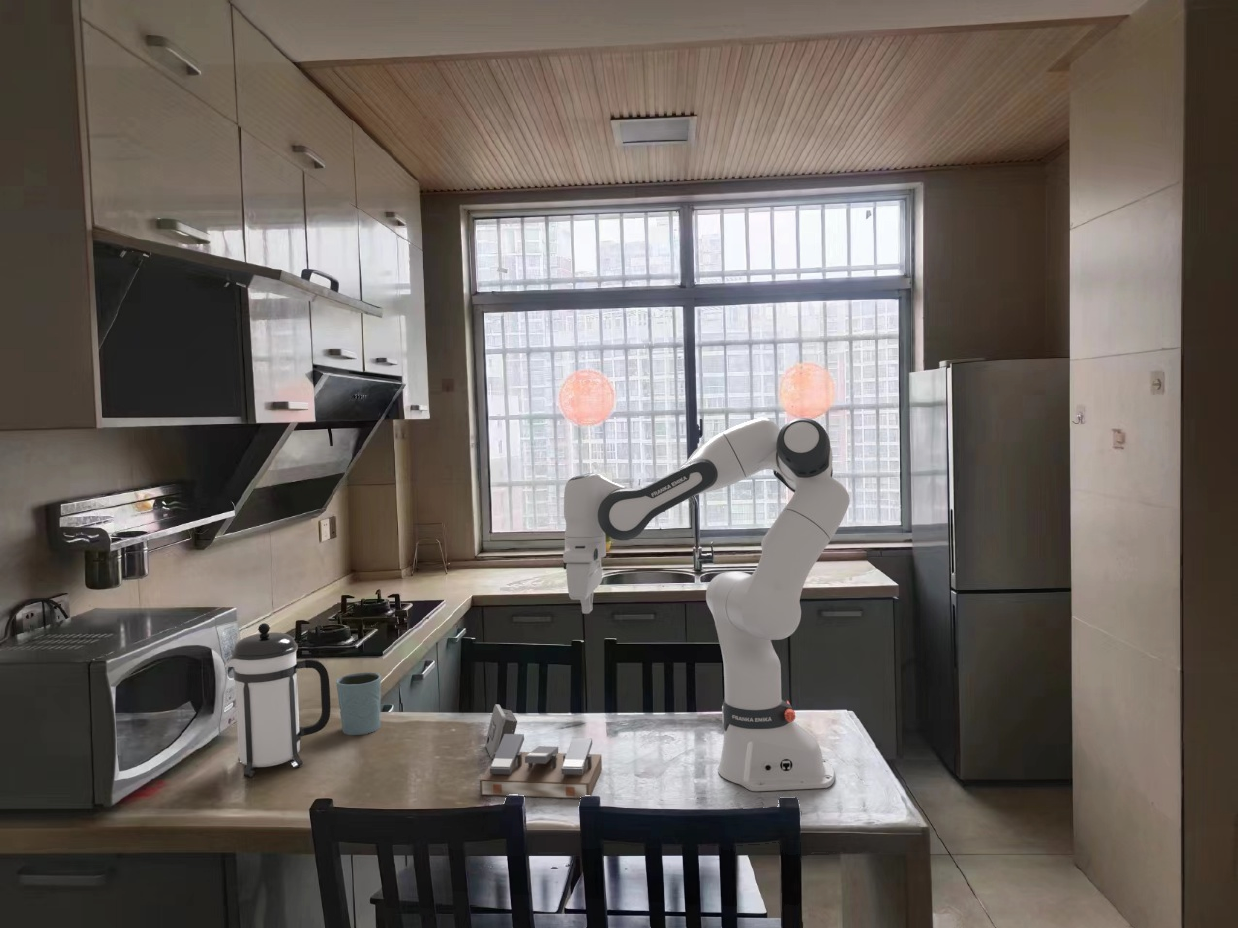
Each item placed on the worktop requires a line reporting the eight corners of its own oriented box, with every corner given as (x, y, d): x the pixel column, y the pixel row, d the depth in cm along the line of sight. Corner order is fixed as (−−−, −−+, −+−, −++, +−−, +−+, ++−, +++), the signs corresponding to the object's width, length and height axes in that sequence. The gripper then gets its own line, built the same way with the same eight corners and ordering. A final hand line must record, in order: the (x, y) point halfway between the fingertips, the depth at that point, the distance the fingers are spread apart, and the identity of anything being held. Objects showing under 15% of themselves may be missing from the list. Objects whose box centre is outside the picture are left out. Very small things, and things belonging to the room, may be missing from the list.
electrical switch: (484, 745, 189) (487, 703, 189) (508, 744, 190) (510, 702, 190) (491, 761, 180) (494, 717, 180) (515, 760, 181) (518, 716, 181)
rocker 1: (524, 739, 174) (523, 733, 174) (510, 774, 164) (509, 768, 164) (505, 738, 175) (504, 733, 175) (490, 773, 165) (489, 767, 164)
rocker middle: (558, 752, 173) (558, 745, 173) (545, 763, 162) (545, 756, 163) (538, 752, 174) (538, 745, 174) (524, 762, 163) (525, 755, 163)
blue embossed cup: (366, 738, 195) (363, 686, 195) (328, 734, 198) (326, 682, 198) (391, 723, 205) (389, 673, 204) (355, 719, 208) (353, 670, 207)
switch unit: (601, 768, 174) (601, 742, 174) (588, 800, 160) (588, 771, 159) (501, 765, 177) (500, 739, 177) (479, 796, 163) (478, 767, 162)
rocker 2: (592, 743, 172) (592, 737, 172) (582, 774, 162) (582, 768, 161) (572, 742, 173) (572, 736, 173) (561, 774, 162) (561, 767, 162)
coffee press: (277, 783, 171) (270, 634, 170) (215, 774, 177) (208, 629, 175) (334, 751, 187) (328, 615, 186) (275, 744, 193) (269, 611, 192)
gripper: (580, 542, 196) (582, 602, 197) (561, 555, 176) (563, 622, 177) (607, 541, 195) (609, 602, 196) (591, 555, 175) (593, 623, 176)
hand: (587, 612), depth 186 cm, fingers closed
